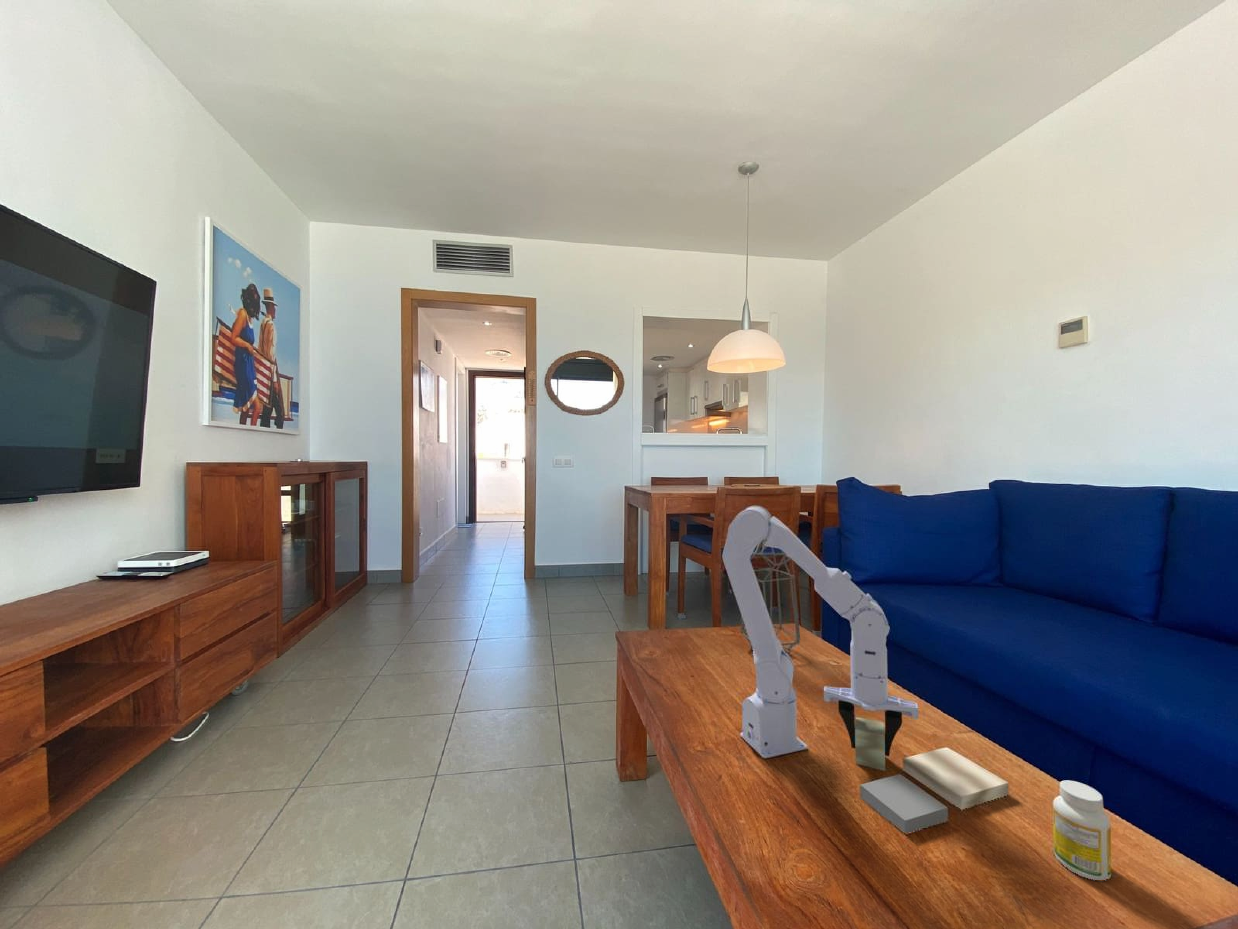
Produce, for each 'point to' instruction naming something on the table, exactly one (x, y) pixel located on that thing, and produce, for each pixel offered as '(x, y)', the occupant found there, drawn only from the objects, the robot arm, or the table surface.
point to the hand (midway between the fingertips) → (869, 749)
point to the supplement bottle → (1082, 831)
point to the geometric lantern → (778, 593)
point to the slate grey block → (903, 803)
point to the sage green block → (870, 743)
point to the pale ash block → (955, 777)
